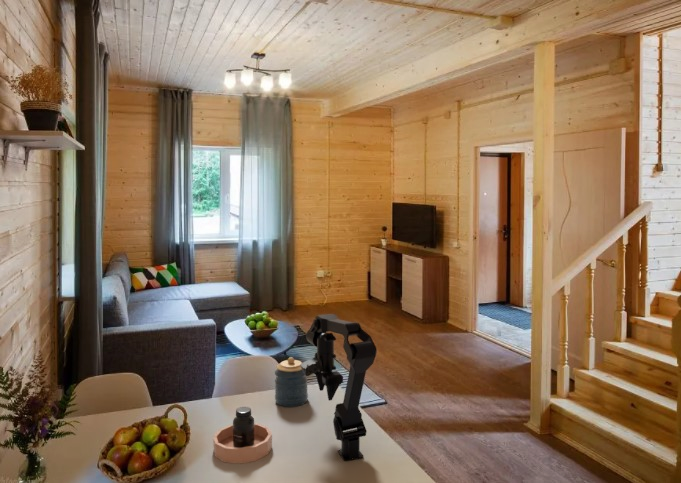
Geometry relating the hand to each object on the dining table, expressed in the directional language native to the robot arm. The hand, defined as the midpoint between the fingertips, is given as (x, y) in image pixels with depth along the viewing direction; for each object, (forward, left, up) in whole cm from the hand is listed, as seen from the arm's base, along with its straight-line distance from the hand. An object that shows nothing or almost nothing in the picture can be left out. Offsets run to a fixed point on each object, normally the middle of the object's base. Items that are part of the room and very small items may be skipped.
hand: (325, 395), depth 183 cm
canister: (+30, +4, -13) cm, 33 cm away
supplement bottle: (-2, +29, -12) cm, 31 cm away
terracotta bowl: (-2, +29, -13) cm, 32 cm away
